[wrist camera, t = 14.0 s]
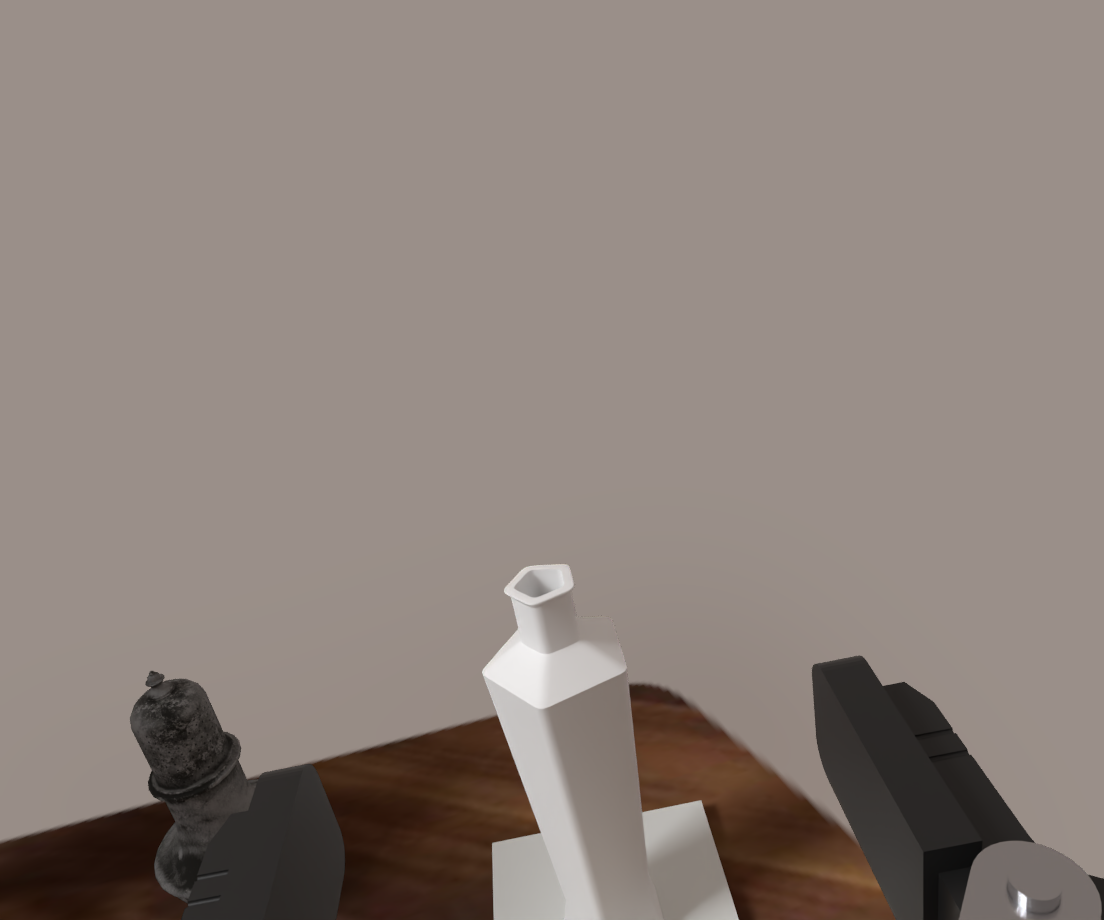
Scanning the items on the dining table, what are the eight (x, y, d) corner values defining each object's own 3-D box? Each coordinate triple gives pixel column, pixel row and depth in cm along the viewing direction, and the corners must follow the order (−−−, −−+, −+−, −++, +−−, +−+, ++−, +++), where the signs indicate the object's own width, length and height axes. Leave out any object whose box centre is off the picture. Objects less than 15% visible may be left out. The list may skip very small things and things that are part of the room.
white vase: (546, 882, 34) (461, 560, 28) (655, 856, 34) (593, 531, 28) (561, 993, 30) (463, 644, 23) (684, 964, 30) (619, 609, 24)
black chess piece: (316, 817, 40) (229, 606, 35) (331, 917, 35) (232, 686, 30) (187, 870, 38) (78, 658, 34) (183, 983, 33) (53, 752, 28)
